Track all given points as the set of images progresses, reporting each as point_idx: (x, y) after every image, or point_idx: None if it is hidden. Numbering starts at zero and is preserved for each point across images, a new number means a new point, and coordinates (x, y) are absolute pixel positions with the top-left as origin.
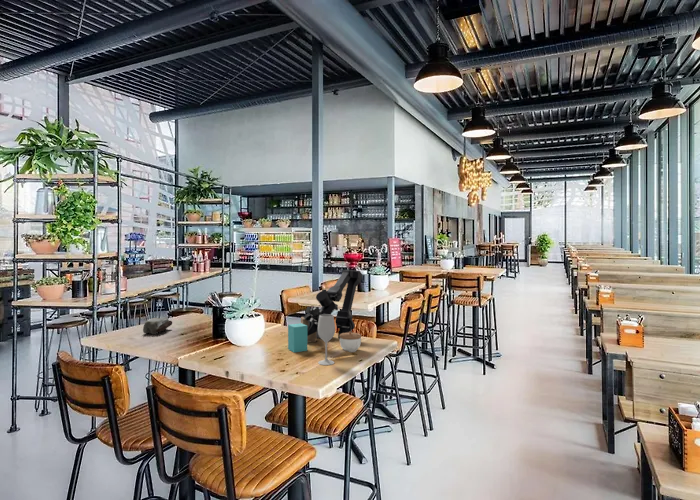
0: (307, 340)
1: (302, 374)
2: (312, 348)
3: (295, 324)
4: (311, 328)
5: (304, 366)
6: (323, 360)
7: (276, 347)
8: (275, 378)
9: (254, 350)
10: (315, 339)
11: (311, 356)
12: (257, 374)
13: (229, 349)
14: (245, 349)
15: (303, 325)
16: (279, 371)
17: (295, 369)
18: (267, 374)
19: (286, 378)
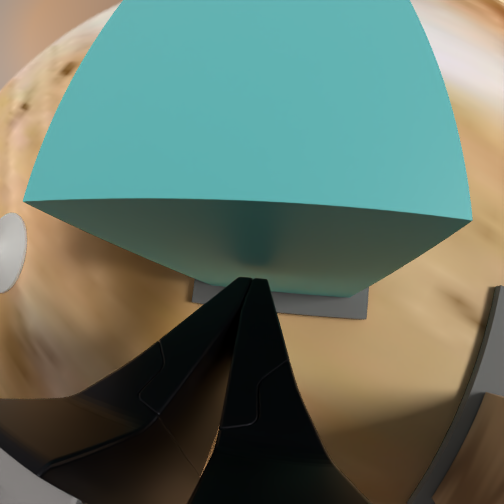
0: (476, 434)
1: (8, 119)
2: (305, 397)
3: (351, 18)
4: (128, 383)
5: (36, 145)
6: (4, 241)
7: (479, 159)
8: (48, 52)
9: (442, 48)
10: (441, 500)
11: (108, 251)
12: (106, 13)
13: (478, 14)
14: (469, 38)
15: (100, 124)
16: (72, 60)
17: (43, 107)
18: (83, 33)
19: (27, 76)
